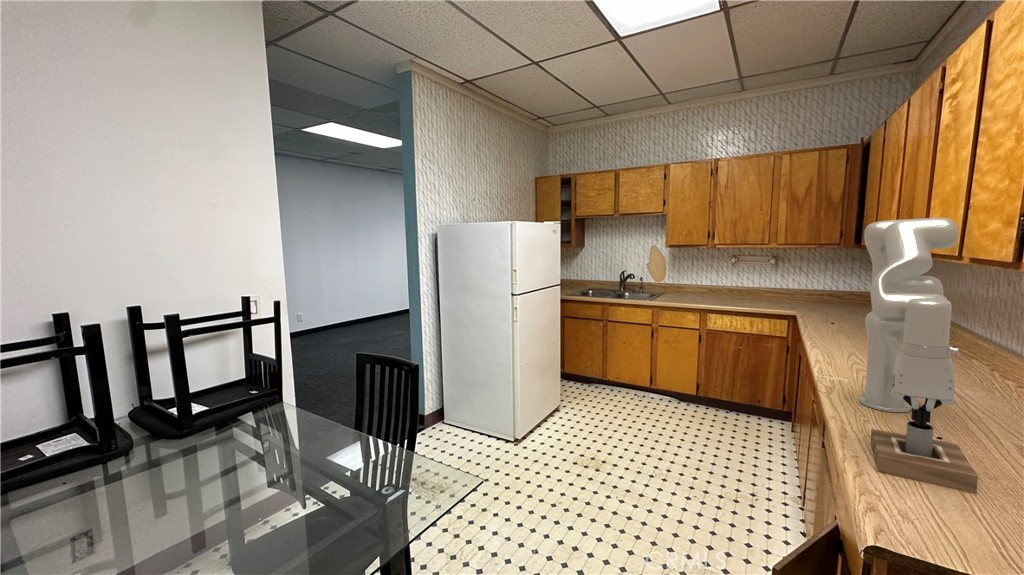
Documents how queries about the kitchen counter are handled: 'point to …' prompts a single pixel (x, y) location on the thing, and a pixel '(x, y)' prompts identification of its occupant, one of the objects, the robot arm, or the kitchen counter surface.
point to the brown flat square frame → (923, 462)
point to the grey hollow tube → (919, 439)
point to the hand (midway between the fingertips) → (920, 423)
